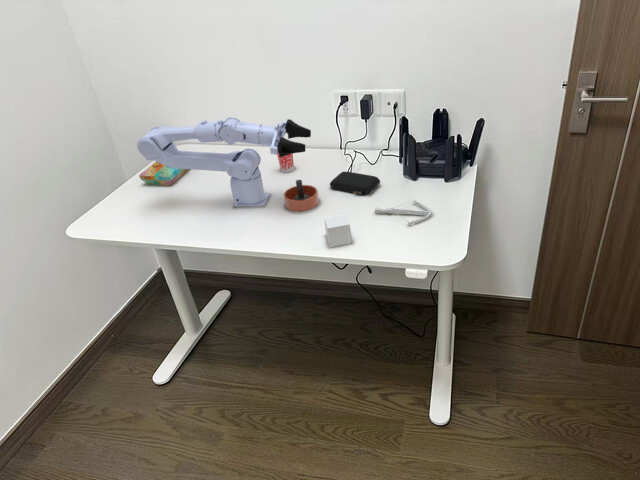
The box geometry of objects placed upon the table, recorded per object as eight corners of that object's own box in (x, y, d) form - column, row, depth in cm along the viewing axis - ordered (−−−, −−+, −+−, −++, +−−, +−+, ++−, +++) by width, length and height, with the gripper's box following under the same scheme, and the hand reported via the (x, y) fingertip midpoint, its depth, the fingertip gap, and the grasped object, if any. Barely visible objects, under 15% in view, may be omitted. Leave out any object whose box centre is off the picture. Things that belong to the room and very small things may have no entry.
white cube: (326, 236, 150) (323, 217, 146) (347, 232, 151) (345, 213, 147) (330, 247, 145) (327, 228, 142) (351, 243, 146) (349, 224, 142)
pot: (282, 213, 162) (280, 201, 160) (289, 196, 170) (287, 185, 168) (316, 212, 161) (314, 200, 158) (321, 196, 169) (320, 184, 167)
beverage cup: (286, 164, 190) (280, 126, 182) (300, 167, 187) (293, 128, 179) (275, 171, 187) (267, 132, 178) (288, 174, 183) (281, 135, 175)
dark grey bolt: (294, 206, 164) (290, 184, 160) (296, 199, 167) (293, 177, 163) (307, 206, 163) (304, 184, 159) (310, 199, 167) (306, 177, 162)
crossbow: (432, 206, 160) (433, 200, 159) (428, 229, 150) (428, 222, 149) (379, 201, 163) (379, 195, 161) (371, 223, 153) (371, 217, 151)
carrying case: (326, 191, 171) (367, 199, 165) (324, 183, 169) (366, 190, 163) (342, 177, 179) (382, 184, 172) (341, 168, 177) (382, 175, 170)
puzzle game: (138, 173, 183) (168, 148, 198) (142, 185, 186) (171, 160, 201) (169, 174, 180) (197, 149, 196) (173, 187, 183) (200, 161, 198)
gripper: (253, 136, 149) (302, 143, 148) (267, 109, 158) (312, 115, 158) (255, 158, 154) (302, 164, 153) (268, 130, 164) (312, 136, 163)
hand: (307, 140), depth 156 cm, fingers open, 7 cm apart
